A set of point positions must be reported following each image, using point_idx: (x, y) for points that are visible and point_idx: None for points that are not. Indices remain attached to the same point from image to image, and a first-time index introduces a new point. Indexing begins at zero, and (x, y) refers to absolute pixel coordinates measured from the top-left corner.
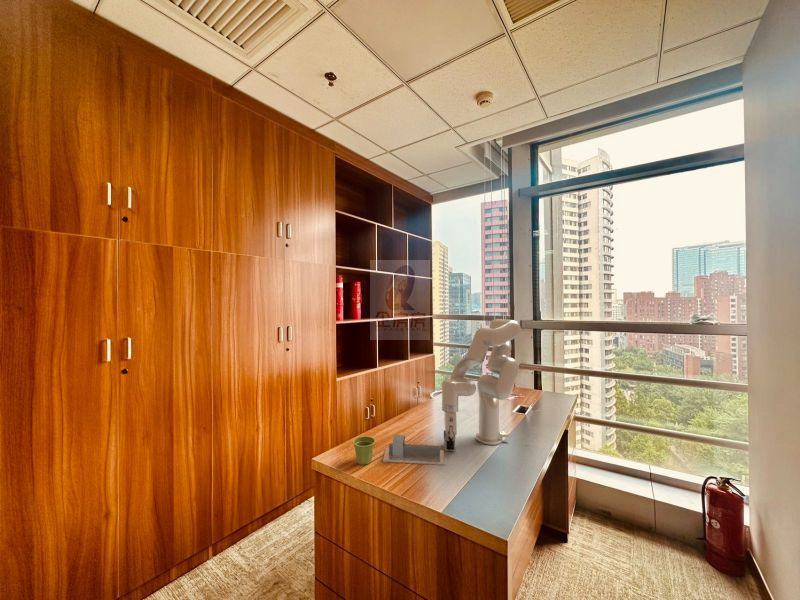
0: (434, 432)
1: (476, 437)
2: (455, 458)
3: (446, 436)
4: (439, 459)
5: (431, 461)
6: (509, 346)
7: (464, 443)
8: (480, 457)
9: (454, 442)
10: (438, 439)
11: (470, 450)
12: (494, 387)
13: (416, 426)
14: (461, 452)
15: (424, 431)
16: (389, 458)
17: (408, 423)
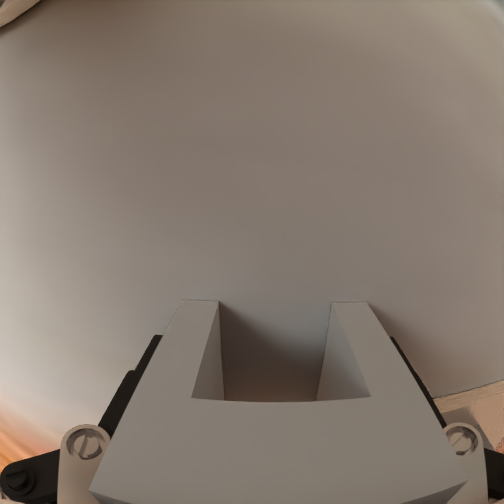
0: (4, 399)
1: (10, 6)
2: (496, 305)
3: None
4: (499, 419)
5: (495, 446)
6: None
7: (101, 138)
8: (476, 28)
9: (409, 389)
10: (92, 415)
11: (329, 72)
12: None
13: (5, 451)
14: (398, 220)
15: (28, 445)
16: None
17: (3, 463)
